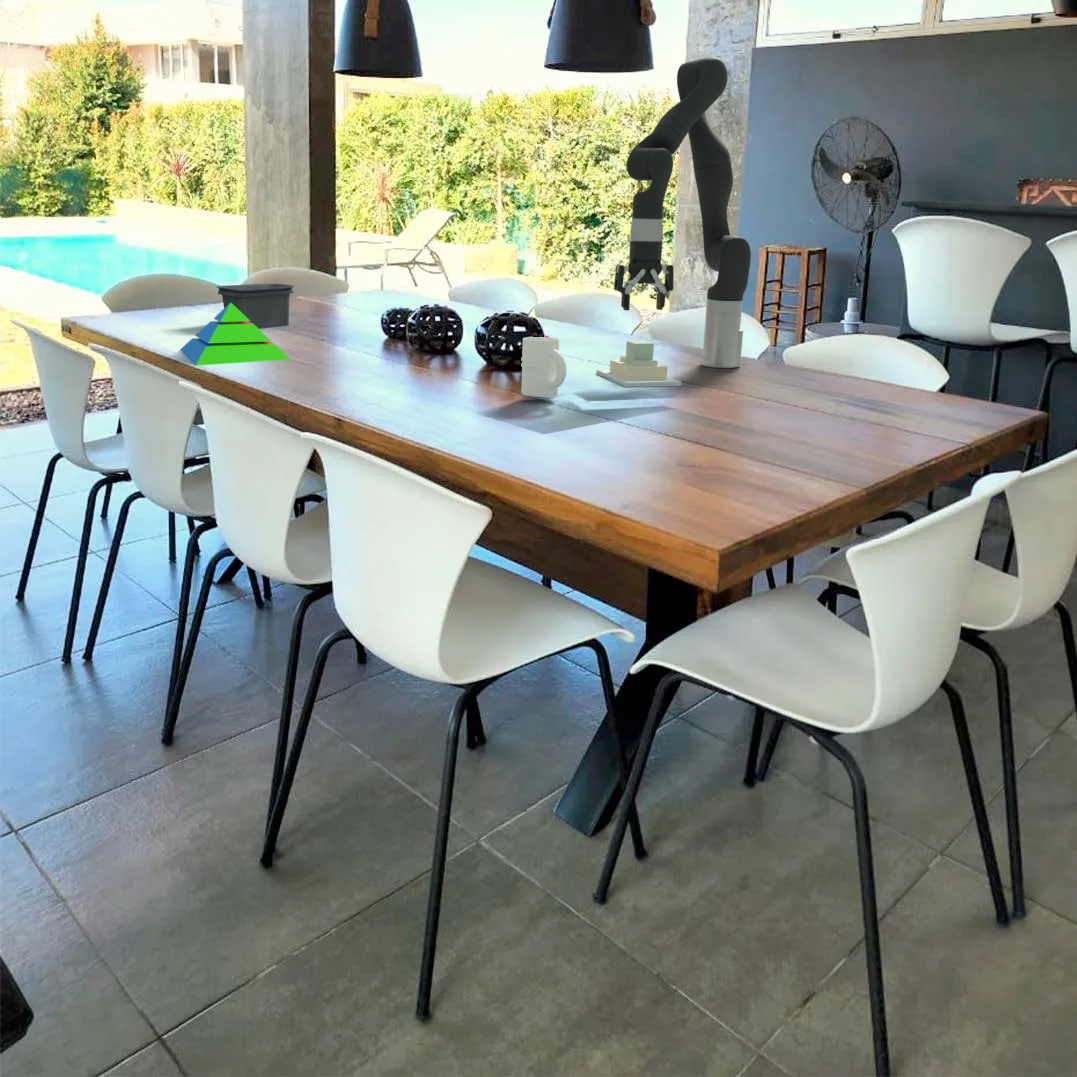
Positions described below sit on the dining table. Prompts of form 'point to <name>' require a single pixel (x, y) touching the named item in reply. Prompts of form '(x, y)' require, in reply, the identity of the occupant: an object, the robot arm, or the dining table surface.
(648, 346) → the sage cube
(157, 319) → the dining table surface
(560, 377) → the mug
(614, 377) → the base
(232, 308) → the pyramid toy
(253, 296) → the storage bin
